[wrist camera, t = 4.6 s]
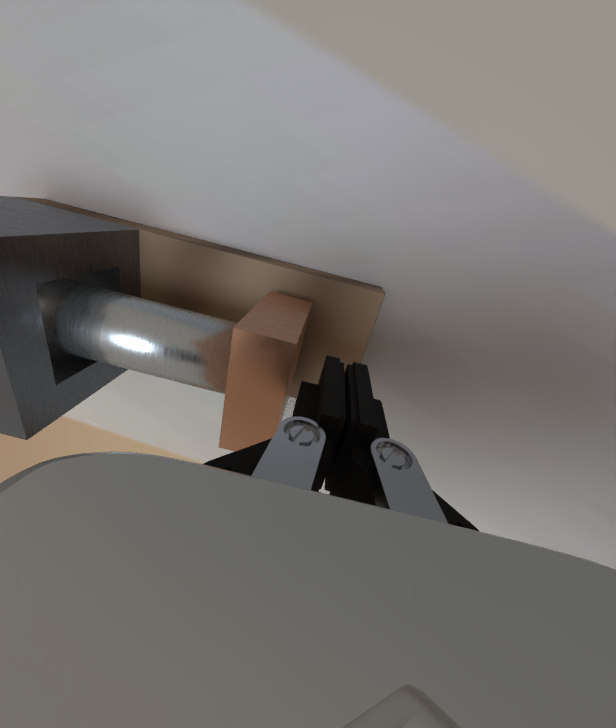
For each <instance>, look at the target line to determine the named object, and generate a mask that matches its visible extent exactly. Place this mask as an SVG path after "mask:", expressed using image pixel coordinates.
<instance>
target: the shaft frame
mask: <svg viewBox="0 0 616 728" xmlns="http://www.w3.org/2000/svg"><path fill="white" fill-rule="evenodd" d="M62 278H66V279H70V280H74V281H78V282H82V283H86V284H89V285H93V286H97V287H101V288H105V289H109V290H113V291H116V292H120V293H124V294H128V295H132V296H136V297H139V298H143V299H147V300H151V301H155V302H159V303H163V304H166V305H170V306H174V307H178V308H182V309H186V310H189V311H193V312H197V313H201V314H205V315H209V316H213V317H216V318H220V319H224V320H228V321H232V322H236V323H238V322H239V321H240V320H241V319H242V318H243V317H244V316H245V315H246V314H247V313H248V312H249V311H250V310H251V309H253V308H254V307H255V306H256V305H257V304H258V303H259V302H260V301H261V300H262V299H263V298H264V297H265V296H266V295H267V294H268V293H269V292H270V291H271V292H275V293H279V294H283V295H286V296H290V297H294V298H298V299H302V300H305V301H309V302H312V306H311V310H310V314H309V318H308V322H307V326H306V330H305V334H304V339H303V343H302V347H301V351H300V355H299V359H298V363H297V367H296V371H295V376H294V380H293V384H292V388H291V392H290V395H289V396H290V397H294V398H297V396H298V392H299V388H300V384H301V381H305V382H309V383H313V384H317V385H318V382H319V379H320V375H321V372H322V369H323V365H324V362H325V358H326V356H327V355H329V356H332V357H336V358H340V362H342V363H344V372H345V370H346V367H347V365H348V364H350V365H352V364H353V362H356V363H361V360H362V357H363V354H364V351H365V349H366V346H367V343H368V340H369V337H370V335H371V332H372V329H373V326H374V323H375V321H376V318H377V315H378V312H379V309H380V307H381V304H382V301H383V298H384V295H385V293H384V291H383V289H382V287H379V286H375V285H371V284H367V283H363V282H360V281H356V280H352V279H348V278H344V277H341V276H337V275H333V274H329V273H325V272H321V271H318V270H314V269H310V268H306V267H302V266H299V265H295V264H291V263H287V262H283V261H279V260H276V259H272V258H268V257H264V256H260V255H256V254H253V253H249V252H245V251H241V250H237V249H234V248H230V247H226V246H222V245H218V244H214V243H211V242H207V241H203V240H199V239H195V238H192V237H188V236H184V235H180V234H176V233H172V232H169V231H165V230H161V229H157V228H153V227H149V226H146V225H142V224H138V223H134V222H130V221H127V220H123V219H119V218H115V217H111V216H107V215H104V214H100V213H96V212H92V211H88V210H85V209H81V208H77V207H73V206H69V205H65V204H62V203H58V202H54V201H50V200H46V199H39V198H23V197H8V196H0V433H1V434H5V435H9V436H13V437H17V438H21V439H25V440H28V439H29V438H31V437H32V436H33V435H35V434H36V433H38V432H39V431H41V430H42V429H43V428H45V427H46V426H48V425H49V424H51V423H52V422H53V421H55V420H56V419H58V418H59V417H61V416H62V415H63V414H65V413H66V412H68V411H69V410H71V409H72V408H73V407H75V406H76V405H78V404H79V403H81V402H82V401H83V400H85V399H86V398H88V397H89V396H91V395H92V394H93V393H95V392H96V391H98V390H99V389H101V388H102V387H104V386H105V385H106V384H108V383H109V382H111V381H112V380H114V379H115V378H116V377H118V376H119V375H121V374H122V373H124V372H125V371H126V370H128V369H126V368H122V367H118V366H114V365H110V364H106V363H102V362H99V361H95V360H91V359H87V358H83V357H79V356H75V355H72V354H68V353H64V352H60V351H56V350H52V349H48V344H47V339H46V334H45V329H44V325H43V320H42V315H41V310H40V305H39V300H38V295H37V290H36V285H35V284H39V283H43V282H48V281H53V280H57V279H62Z"/></svg>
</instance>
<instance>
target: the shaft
mask: <svg viewBox="0 0 616 728" xmlns="http://www.w3.org/2000/svg"><path fill="white" fill-rule="evenodd" d="M35 285H36V290H37V295H38V300H39V305H40V310H41V315H42V320H43V325H44V329H45V334H46V339H47V344H48V349H52V350H56V351H60V352H64V353H68V354H72V355H75V356H79V357H83V358H87V359H91V360H95V361H99V362H102V363H106V364H110V365H114V366H118V367H122V368H126V369H130V370H133V371H137V372H141V373H145V374H149V375H153V376H157V377H161V378H164V379H168V380H172V381H176V382H180V383H184V384H188V385H192V386H195V387H199V388H203V389H207V390H211V391H215V392H219V393H222V394H225V400H224V409H223V417H222V425H221V434H220V442H219V447H220V448H224V449H228V450H231V451H238V450H241V449H244V448H246V447H249V446H252V445H254V444H257V443H260V442H263V441H265V440H268V439H271V438H272V437H273V436H274V434H275V432H276V430H277V428H278V427H279V425H280V423H281V421H282V418H283V415H284V411H285V408H286V405H287V402H288V398H289V395H290V392H291V388H292V384H293V380H294V376H295V371H296V367H297V363H298V359H299V355H300V351H301V347H302V343H303V339H304V334H305V330H306V326H307V322H308V318H309V314H310V310H311V306H312V302H309V301H305V300H302V299H298V298H294V297H290V296H286V295H283V294H279V293H275V292H271V291H270V292H269V293H268V294H267V295H266V296H265V297H264V298H263V299H262V300H261V301H260V302H259V303H258V304H257V305H256V306H255V307H254V308H253V309H251V310H250V311H249V312H248V313H247V314H246V315H245V316H244V317H243V318H242V319H241V320H240V321H239V322H238V323H236V322H232V321H228V320H224V319H220V318H216V317H213V316H209V315H205V314H201V313H197V312H193V311H189V310H186V309H182V308H178V307H174V306H170V305H166V304H163V303H159V302H155V301H151V300H147V299H143V298H139V297H136V296H132V295H128V294H124V293H120V292H116V291H113V290H109V289H105V288H101V287H97V286H93V285H89V284H86V283H82V282H78V281H74V280H70V279H66V278H62V279H57V280H53V281H48V282H43V283H39V284H35Z"/></svg>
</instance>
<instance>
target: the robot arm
mask: <svg viewBox="0 0 616 728" xmlns="http://www.w3.org/2000/svg"><path fill="white" fill-rule="evenodd" d="M324 479H325V490H327V491H330V495H328V494H324V493H320V492H318V491H319V489H321V487H322V485H323V482H324ZM0 728H616V570H615V569H612V568H609V567H607V566H604V565H601V564H598V563H595V562H592V561H590V560H586V559H583V558H579V557H576V556H572V555H568V554H565V553H561V552H558V551H554V550H551V549H547V548H543V547H539V546H535V545H531V544H527V543H523V542H519V541H515V540H511V539H507V538H503V537H499V536H495V535H491V534H487V533H483V532H480V531H479V530H478V529H477V528H476V527H475V526H473V525H472V524H471V523H470V522H469V521H468V520H466V519H465V518H464V517H463V516H462V515H461V514H459V513H458V512H457V511H456V510H455V509H454V508H452V507H451V506H450V505H449V504H448V503H447V502H445V501H444V500H443V499H442V498H441V497H440V496H438V495H437V494H436V493H435V492H434V491H433V490H432V489H431V487H430V485H429V483H428V481H427V479H426V477H425V475H424V473H423V471H422V469H421V467H420V465H419V463H418V461H417V459H416V457H415V456H414V454H413V453H412V451H410V450H409V449H408V448H407V447H406V446H405V445H403V444H402V443H400V442H398V441H396V440H393V439H390V437H389V433H388V429H387V424H386V420H385V415H384V411H383V407H382V403H381V401H380V400H377V399H374V398H373V393H372V388H371V382H370V377H369V372H368V366H367V365H364V364H360V363H356V362H353V364H352V365H350V364H348V365H347V367H346V370H345V372H344V363H342V362H340V358H336V357H332V356H329V355H327V356H326V358H325V362H324V365H323V369H322V372H321V375H320V379H319V382H318V385H317V384H313V383H309V382H305V381H301V384H300V388H299V392H298V396H297V400H296V404H295V408H294V412H293V416H292V417H289V418H287V419H285V420H283V421H282V422H281V423H280V425H279V427H278V428H277V430H276V432H275V434H274V436H273V437H272V438H271V439H268V440H265V441H263V442H260V443H257V444H254V445H252V446H249V447H246V448H244V449H241V450H238V451H235V452H233V453H230V454H227V455H224V456H222V457H219V458H216V459H214V460H211V461H208V462H206V463H204V464H198V463H193V462H188V461H183V460H179V459H174V458H169V457H164V456H157V455H151V454H143V453H131V452H96V453H82V454H75V455H69V456H63V457H59V458H54V459H51V460H47V461H45V462H41V463H39V464H36V465H34V466H32V467H30V468H27V469H25V470H23V471H21V472H19V473H17V474H16V475H14V476H12V477H10V478H8V479H7V480H5V481H3V482H2V483H0Z"/></svg>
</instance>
